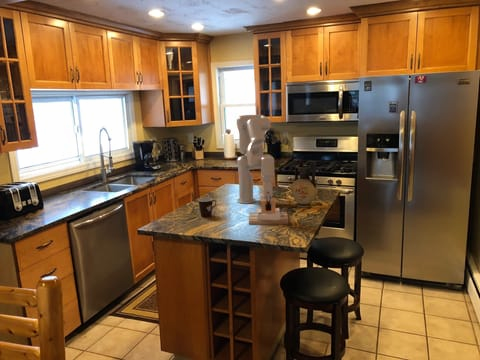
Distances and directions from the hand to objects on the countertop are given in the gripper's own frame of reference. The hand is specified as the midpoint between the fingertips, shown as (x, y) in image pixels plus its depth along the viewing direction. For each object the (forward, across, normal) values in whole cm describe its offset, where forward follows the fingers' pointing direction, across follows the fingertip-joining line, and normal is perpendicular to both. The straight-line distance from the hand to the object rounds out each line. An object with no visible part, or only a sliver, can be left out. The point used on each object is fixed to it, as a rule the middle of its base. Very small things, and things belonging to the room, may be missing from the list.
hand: (268, 208), depth 223 cm
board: (+7, 0, 0) cm, 7 cm away
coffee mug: (+7, -10, -36) cm, 38 cm away
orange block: (+4, 0, 0) cm, 4 cm away
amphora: (+7, -30, +24) cm, 39 cm away
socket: (+5, 0, 0) cm, 5 cm away
